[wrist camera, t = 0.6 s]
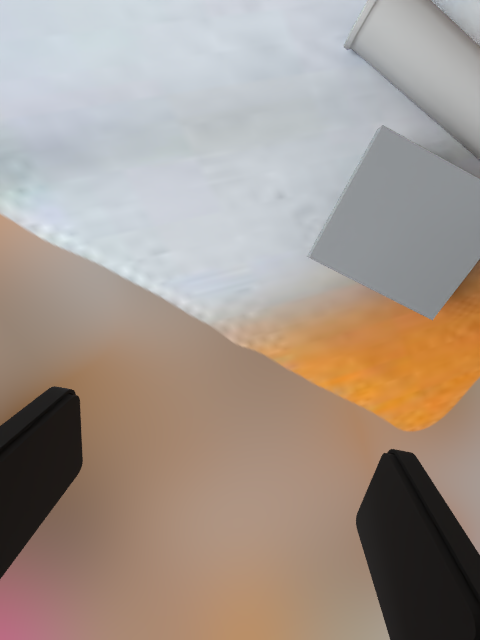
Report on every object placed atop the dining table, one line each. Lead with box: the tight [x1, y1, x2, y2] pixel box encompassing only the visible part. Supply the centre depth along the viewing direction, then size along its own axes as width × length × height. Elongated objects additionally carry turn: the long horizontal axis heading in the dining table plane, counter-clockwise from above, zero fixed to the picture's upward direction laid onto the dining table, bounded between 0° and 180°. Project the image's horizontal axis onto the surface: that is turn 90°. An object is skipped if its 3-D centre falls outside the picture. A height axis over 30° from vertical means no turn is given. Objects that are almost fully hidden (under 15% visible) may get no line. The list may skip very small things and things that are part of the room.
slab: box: [308, 125, 480, 320], centre depth 26 cm, size 12×14×1 cm
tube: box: [344, 0, 480, 160], centre depth 26 cm, size 5×5×25 cm
